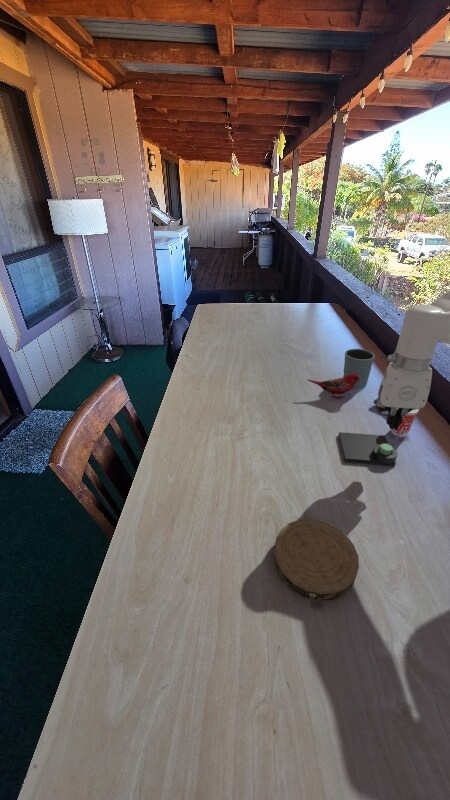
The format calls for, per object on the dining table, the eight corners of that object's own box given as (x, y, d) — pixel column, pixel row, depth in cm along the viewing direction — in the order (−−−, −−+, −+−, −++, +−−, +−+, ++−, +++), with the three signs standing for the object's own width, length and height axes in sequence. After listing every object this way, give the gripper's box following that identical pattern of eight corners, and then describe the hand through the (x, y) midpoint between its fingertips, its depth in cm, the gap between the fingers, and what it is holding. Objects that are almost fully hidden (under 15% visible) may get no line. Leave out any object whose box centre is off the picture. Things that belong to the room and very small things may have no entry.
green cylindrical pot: (368, 391, 127) (375, 361, 121) (339, 387, 130) (344, 357, 124) (367, 379, 135) (374, 350, 129) (340, 375, 138) (345, 347, 132)
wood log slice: (369, 558, 70) (372, 548, 68) (332, 621, 59) (334, 612, 58) (300, 516, 79) (301, 506, 77) (257, 564, 69) (258, 555, 67)
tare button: (389, 449, 95) (390, 443, 94) (392, 456, 92) (393, 450, 91) (377, 448, 95) (379, 443, 94) (380, 455, 93) (382, 450, 92)
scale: (385, 439, 103) (387, 431, 101) (397, 467, 92) (400, 459, 91) (338, 435, 104) (339, 427, 103) (344, 463, 94) (346, 454, 92)
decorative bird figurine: (357, 401, 121) (362, 376, 116) (305, 396, 124) (308, 371, 119) (356, 397, 123) (361, 372, 118) (305, 392, 127) (308, 368, 121)
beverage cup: (399, 424, 109) (411, 385, 102) (415, 435, 104) (428, 395, 97) (384, 429, 107) (395, 389, 100) (399, 440, 102) (411, 399, 95)
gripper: (381, 366, 78) (364, 432, 87) (453, 369, 76) (428, 437, 85) (373, 352, 84) (359, 416, 93) (440, 355, 82) (418, 420, 92)
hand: (392, 426), depth 89 cm, fingers closed
